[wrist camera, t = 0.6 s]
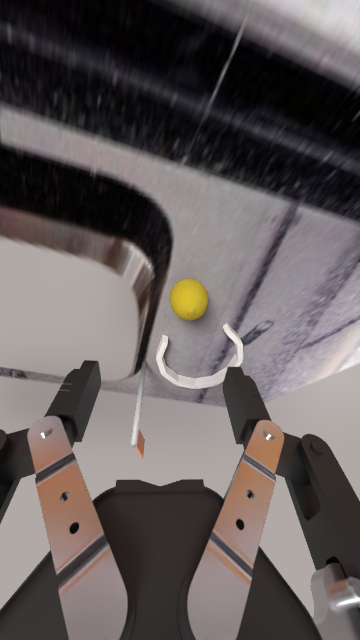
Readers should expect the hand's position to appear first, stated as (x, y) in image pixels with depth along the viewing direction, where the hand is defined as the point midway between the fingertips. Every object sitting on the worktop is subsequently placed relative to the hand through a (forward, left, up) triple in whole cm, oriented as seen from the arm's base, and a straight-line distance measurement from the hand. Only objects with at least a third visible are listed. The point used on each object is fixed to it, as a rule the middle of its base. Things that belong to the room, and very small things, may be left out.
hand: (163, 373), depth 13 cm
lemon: (-2, +4, -22) cm, 23 cm away
